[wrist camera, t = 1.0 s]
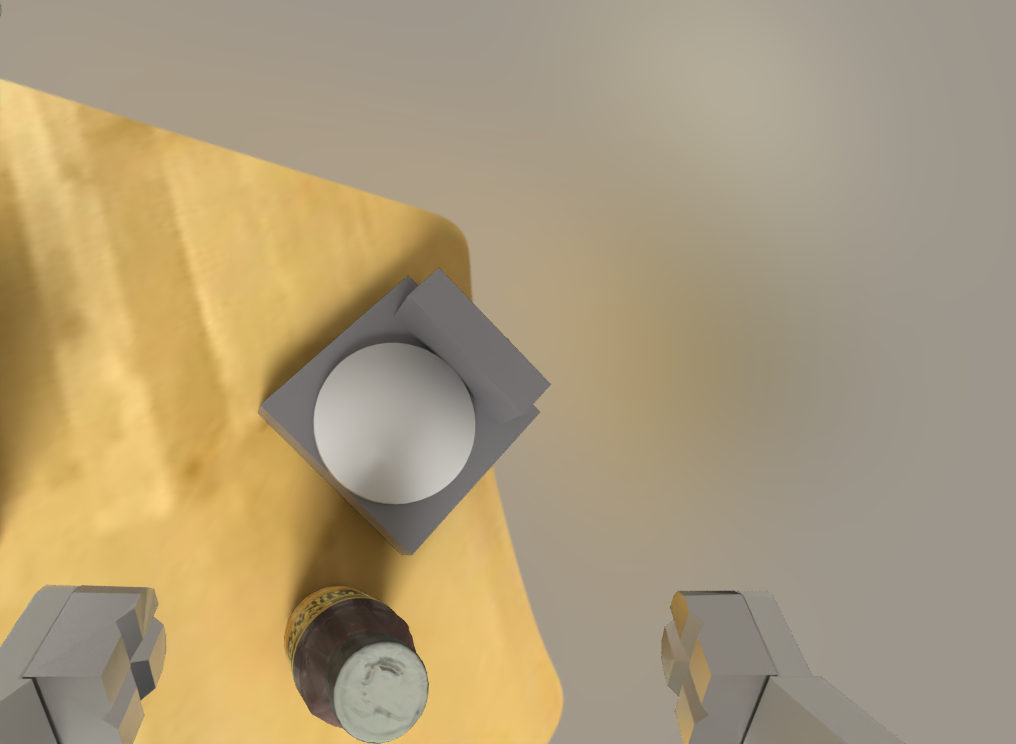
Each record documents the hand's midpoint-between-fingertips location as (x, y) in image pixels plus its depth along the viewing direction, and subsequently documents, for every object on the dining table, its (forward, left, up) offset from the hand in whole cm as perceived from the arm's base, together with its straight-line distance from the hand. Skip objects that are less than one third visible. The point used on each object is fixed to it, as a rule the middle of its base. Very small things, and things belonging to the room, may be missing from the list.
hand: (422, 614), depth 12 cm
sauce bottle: (+6, 0, -40) cm, 41 cm away
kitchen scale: (-1, +14, -40) cm, 42 cm away
